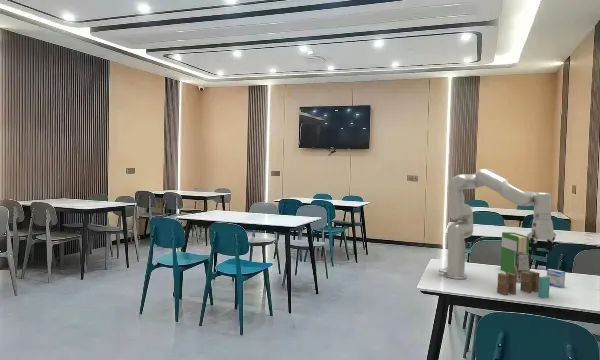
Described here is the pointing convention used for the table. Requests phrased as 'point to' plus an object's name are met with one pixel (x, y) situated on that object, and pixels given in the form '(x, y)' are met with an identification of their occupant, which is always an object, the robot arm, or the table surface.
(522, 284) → the domino
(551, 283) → the medicine box
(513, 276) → the domino
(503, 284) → the domino
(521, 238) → the hardback book
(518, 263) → the coffee box
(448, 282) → the table surface
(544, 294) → the gap domino
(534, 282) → the domino
